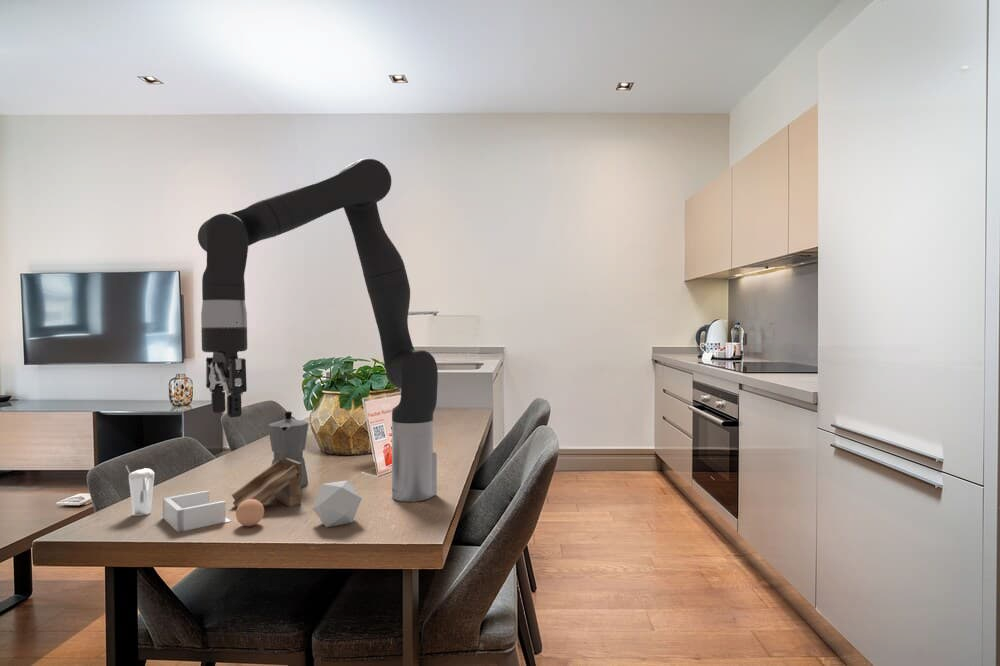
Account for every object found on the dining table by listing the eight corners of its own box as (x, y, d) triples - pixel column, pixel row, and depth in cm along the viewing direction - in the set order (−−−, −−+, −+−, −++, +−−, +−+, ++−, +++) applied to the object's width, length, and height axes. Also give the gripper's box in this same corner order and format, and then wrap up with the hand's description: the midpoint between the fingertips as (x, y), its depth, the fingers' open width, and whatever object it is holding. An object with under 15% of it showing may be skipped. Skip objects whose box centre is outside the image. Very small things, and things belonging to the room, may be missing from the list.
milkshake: (132, 510, 120) (132, 462, 120) (159, 510, 120) (159, 462, 120) (119, 517, 115) (119, 468, 115) (147, 517, 115) (147, 467, 116)
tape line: (212, 508, 121) (212, 507, 121) (231, 521, 113) (231, 520, 113) (206, 509, 121) (206, 508, 121) (224, 522, 112) (224, 522, 112)
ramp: (286, 495, 130) (286, 457, 130) (301, 503, 124) (301, 463, 124) (231, 506, 122) (231, 465, 122) (244, 515, 116) (244, 472, 116)
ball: (258, 519, 114) (258, 494, 114) (268, 525, 110) (268, 499, 110) (232, 525, 110) (232, 499, 110) (241, 531, 107) (241, 505, 107)
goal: (208, 509, 120) (208, 490, 120) (225, 522, 112) (225, 501, 112) (162, 518, 115) (162, 498, 115) (177, 532, 107) (177, 510, 107)
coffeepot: (305, 491, 134) (305, 414, 134) (262, 493, 132) (262, 415, 132) (312, 475, 149) (312, 406, 149) (274, 477, 147) (274, 407, 147)
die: (353, 516, 118) (324, 479, 117) (377, 502, 113) (347, 464, 113) (327, 543, 111) (296, 504, 110) (350, 529, 106) (318, 488, 106)
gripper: (260, 325, 102) (262, 416, 102) (232, 326, 112) (234, 408, 112) (215, 325, 97) (217, 421, 97) (190, 326, 107) (192, 413, 107)
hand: (226, 414), depth 105 cm, fingers open, 8 cm apart
